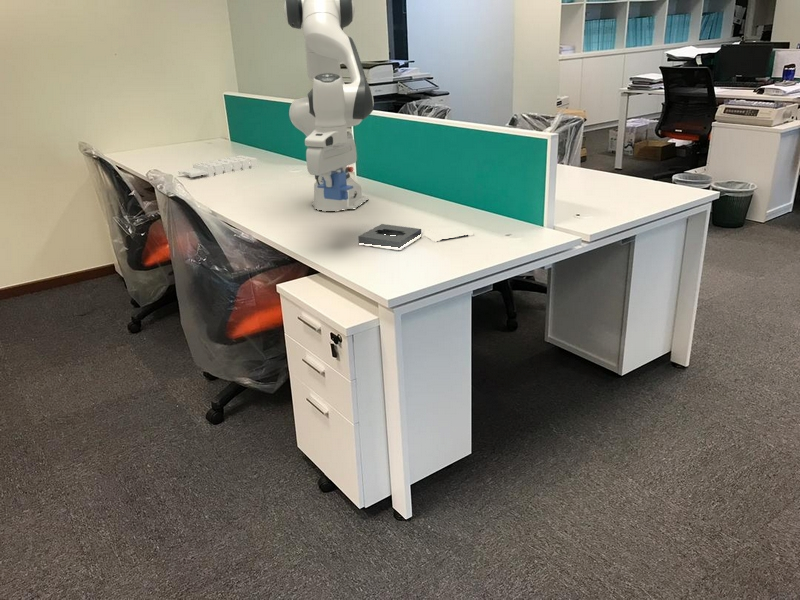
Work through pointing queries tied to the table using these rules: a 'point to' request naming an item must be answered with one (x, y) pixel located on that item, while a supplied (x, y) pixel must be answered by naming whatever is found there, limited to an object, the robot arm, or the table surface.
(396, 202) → the table surface
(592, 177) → the table surface
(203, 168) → the organizer
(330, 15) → the robot arm
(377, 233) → the plate
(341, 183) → the block
